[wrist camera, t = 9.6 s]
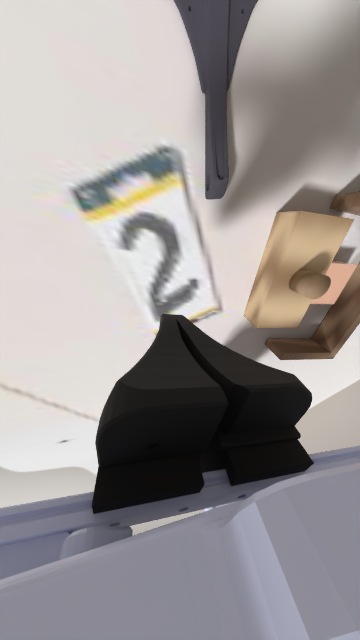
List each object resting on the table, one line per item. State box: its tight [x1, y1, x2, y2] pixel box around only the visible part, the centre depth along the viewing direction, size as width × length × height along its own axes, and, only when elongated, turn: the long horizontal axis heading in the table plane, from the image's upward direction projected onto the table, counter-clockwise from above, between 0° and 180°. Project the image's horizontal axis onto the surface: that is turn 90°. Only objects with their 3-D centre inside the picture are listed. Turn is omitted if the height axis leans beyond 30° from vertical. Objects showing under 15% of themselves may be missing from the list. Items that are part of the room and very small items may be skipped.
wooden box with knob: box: [243, 211, 354, 328], centre depth 19 cm, size 12×6×6 cm, turn 174°
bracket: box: [174, 0, 257, 199], centre depth 11 cm, size 14×15×3 cm
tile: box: [310, 261, 357, 304], centre depth 21 cm, size 5×5×2 cm
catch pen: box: [265, 192, 360, 360], centre depth 22 cm, size 19×10×4 cm, turn 172°
